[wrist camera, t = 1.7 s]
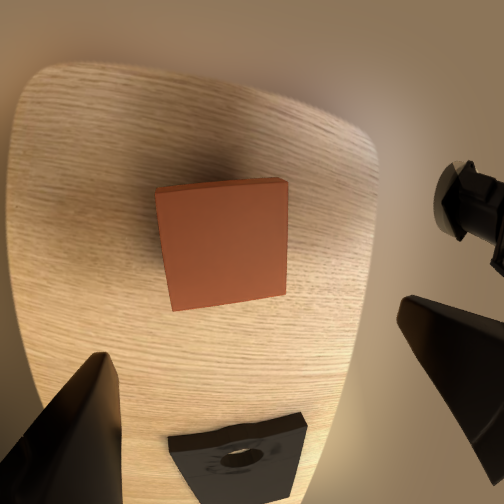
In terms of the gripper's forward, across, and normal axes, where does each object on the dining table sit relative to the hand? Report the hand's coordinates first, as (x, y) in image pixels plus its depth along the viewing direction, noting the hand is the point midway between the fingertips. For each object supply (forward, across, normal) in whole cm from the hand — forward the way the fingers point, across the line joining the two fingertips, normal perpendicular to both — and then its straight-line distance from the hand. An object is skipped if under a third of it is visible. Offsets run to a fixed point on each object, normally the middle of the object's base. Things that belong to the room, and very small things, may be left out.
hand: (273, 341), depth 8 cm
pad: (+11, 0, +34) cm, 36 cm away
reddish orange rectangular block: (+11, 0, 0) cm, 11 cm away
